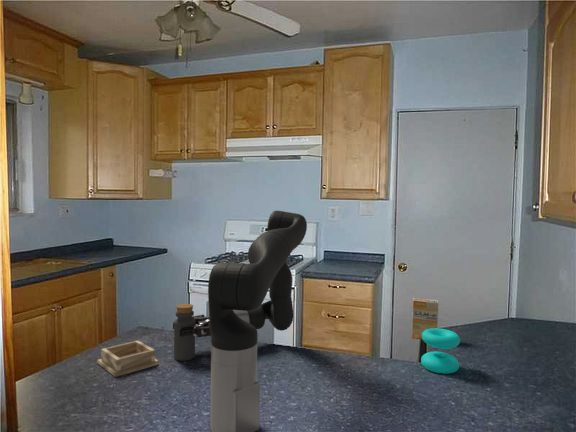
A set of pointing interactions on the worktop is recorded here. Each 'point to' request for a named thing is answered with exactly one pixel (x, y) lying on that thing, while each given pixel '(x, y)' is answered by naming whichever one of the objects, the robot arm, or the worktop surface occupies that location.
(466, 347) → the worktop surface
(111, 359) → the bottle holder
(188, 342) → the bottle
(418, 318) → the supplement box
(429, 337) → the donuts
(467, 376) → the worktop surface
